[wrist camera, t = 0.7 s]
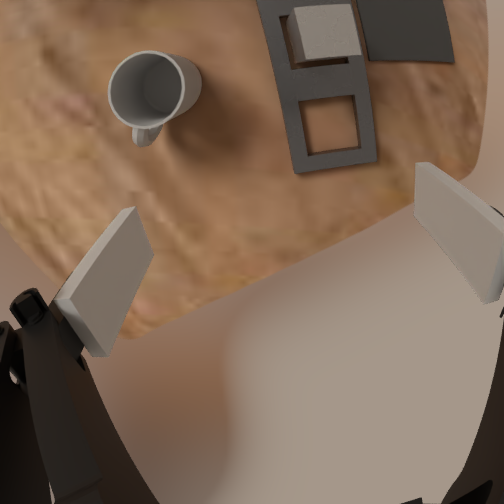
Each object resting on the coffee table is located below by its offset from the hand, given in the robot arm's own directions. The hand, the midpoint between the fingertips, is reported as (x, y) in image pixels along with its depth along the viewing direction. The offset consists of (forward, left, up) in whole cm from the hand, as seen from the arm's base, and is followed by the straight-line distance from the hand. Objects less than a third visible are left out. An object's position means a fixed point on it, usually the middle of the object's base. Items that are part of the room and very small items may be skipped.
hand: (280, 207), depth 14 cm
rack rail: (-9, +7, -23) cm, 25 cm away
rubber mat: (-12, +19, -23) cm, 32 cm away
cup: (-6, -10, -23) cm, 26 cm away
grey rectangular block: (-9, +7, -23) cm, 25 cm away
